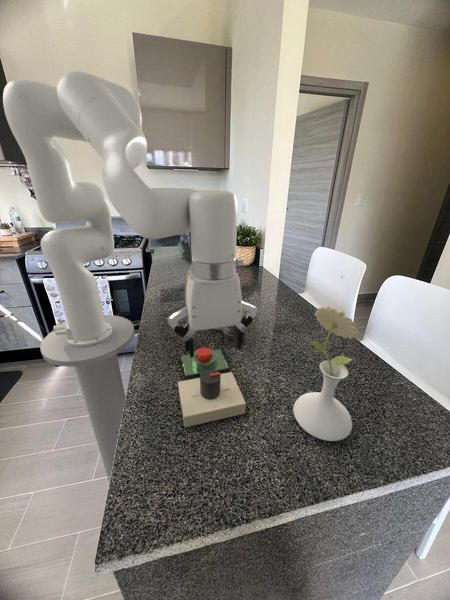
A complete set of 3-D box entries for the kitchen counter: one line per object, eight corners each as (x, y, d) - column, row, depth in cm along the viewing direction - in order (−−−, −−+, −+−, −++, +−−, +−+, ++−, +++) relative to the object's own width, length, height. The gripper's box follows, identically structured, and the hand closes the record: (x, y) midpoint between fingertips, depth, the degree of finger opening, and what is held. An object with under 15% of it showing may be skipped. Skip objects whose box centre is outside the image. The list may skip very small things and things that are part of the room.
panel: (184, 427, 50) (183, 416, 49) (178, 391, 59) (177, 381, 58) (245, 413, 54) (246, 402, 52) (231, 381, 62) (231, 371, 61)
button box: (185, 382, 62) (184, 369, 60) (181, 362, 69) (180, 350, 67) (228, 374, 64) (228, 362, 63) (220, 355, 71) (220, 344, 70)
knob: (202, 401, 52) (202, 384, 50) (198, 386, 56) (198, 369, 54) (222, 397, 54) (223, 380, 52) (217, 382, 57) (217, 366, 55)
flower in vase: (363, 436, 49) (404, 327, 39) (315, 454, 46) (345, 340, 35) (319, 389, 60) (342, 294, 50) (278, 401, 57) (293, 302, 46)
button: (198, 362, 63) (198, 357, 62) (196, 354, 66) (195, 348, 65) (212, 360, 64) (212, 354, 63) (209, 351, 67) (209, 346, 66)
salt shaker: (227, 333, 82) (228, 300, 77) (244, 338, 80) (246, 304, 74) (219, 342, 77) (219, 307, 72) (236, 347, 75) (238, 312, 70)
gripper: (252, 259, 49) (247, 333, 56) (161, 265, 44) (169, 345, 52) (268, 270, 42) (261, 353, 50) (164, 279, 38) (173, 369, 45)
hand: (214, 349), depth 51 cm, fingers open, 9 cm apart
